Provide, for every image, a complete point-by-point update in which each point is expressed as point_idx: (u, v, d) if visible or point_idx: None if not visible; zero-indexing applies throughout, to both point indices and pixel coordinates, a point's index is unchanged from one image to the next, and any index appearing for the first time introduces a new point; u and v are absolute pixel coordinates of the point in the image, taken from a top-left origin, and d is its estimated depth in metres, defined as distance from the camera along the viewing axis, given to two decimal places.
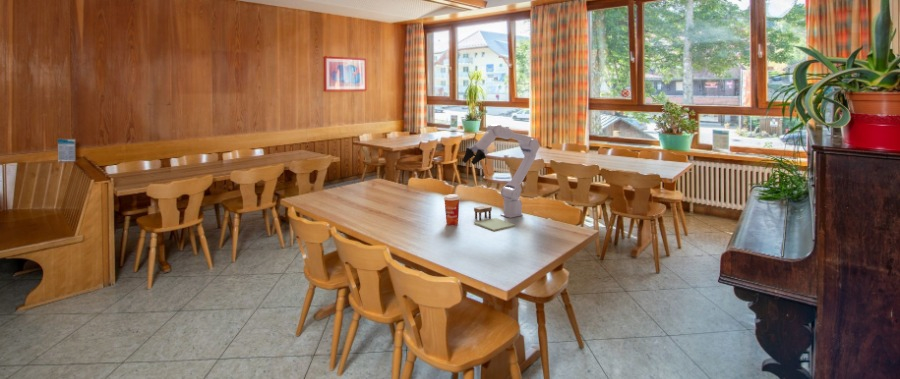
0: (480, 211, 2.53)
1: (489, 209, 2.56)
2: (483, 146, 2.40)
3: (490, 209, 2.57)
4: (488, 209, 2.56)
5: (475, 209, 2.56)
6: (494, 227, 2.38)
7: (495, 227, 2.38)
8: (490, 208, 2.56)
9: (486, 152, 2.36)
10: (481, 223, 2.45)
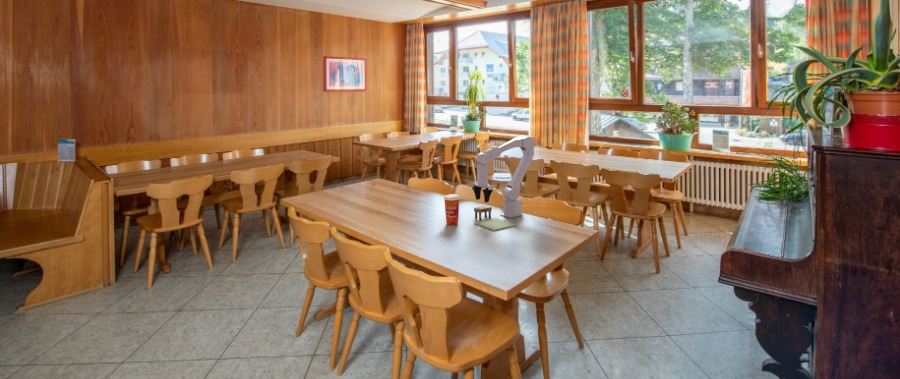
0: (480, 211, 2.53)
1: (489, 209, 2.56)
2: (484, 181, 2.51)
3: (490, 209, 2.57)
4: (488, 209, 2.56)
5: (475, 209, 2.56)
6: (494, 227, 2.38)
7: (495, 227, 2.38)
8: (490, 208, 2.56)
9: (490, 188, 2.48)
10: (481, 223, 2.45)
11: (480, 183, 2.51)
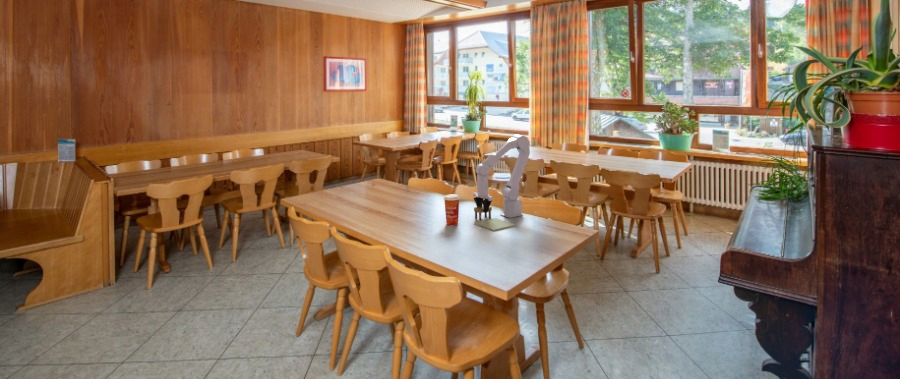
0: (480, 211, 2.53)
1: (489, 209, 2.56)
2: (484, 192, 2.52)
3: (490, 209, 2.56)
4: None
5: (475, 209, 2.56)
6: (494, 227, 2.38)
7: (495, 227, 2.38)
8: (490, 208, 2.56)
9: (491, 199, 2.50)
10: (481, 223, 2.45)
11: (480, 194, 2.52)
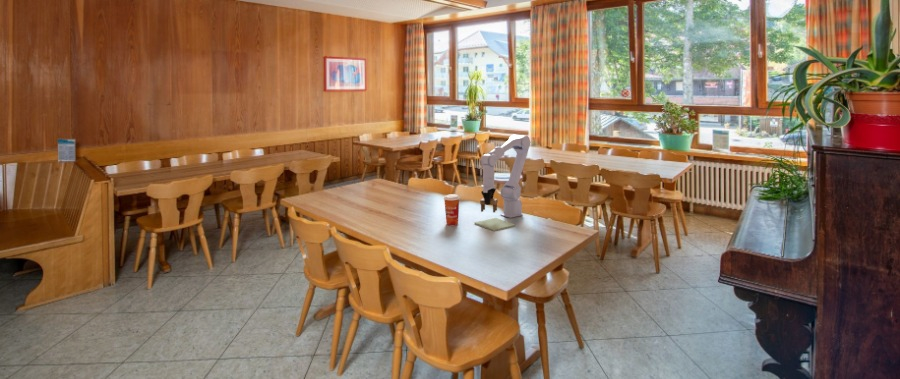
0: (481, 202, 2.47)
1: (492, 203, 2.45)
2: (486, 183, 2.44)
3: (493, 203, 2.45)
4: (490, 202, 2.46)
5: None
6: (494, 227, 2.38)
7: (495, 227, 2.38)
8: (493, 202, 2.45)
9: (485, 191, 2.40)
10: (481, 223, 2.45)
11: (483, 184, 2.46)
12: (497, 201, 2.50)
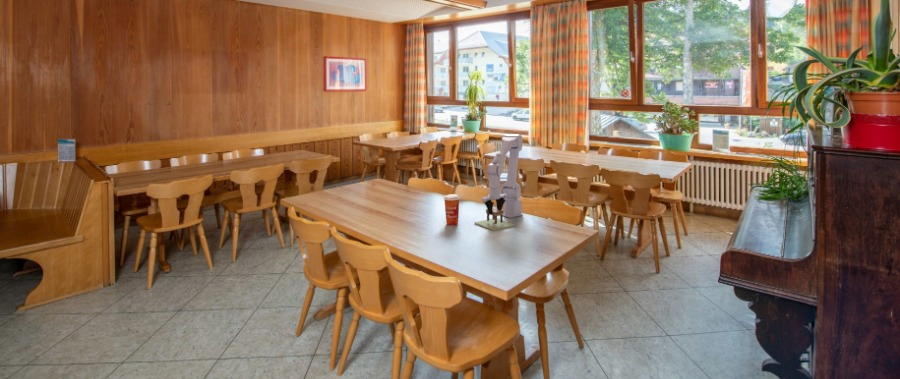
0: (486, 211, 2.45)
1: (493, 213, 2.40)
2: (489, 193, 2.40)
3: (494, 214, 2.39)
4: (492, 213, 2.41)
5: None
6: (494, 227, 2.38)
7: (495, 227, 2.38)
8: (494, 213, 2.39)
9: (483, 200, 2.38)
10: (481, 223, 2.45)
11: None
12: (503, 213, 2.41)
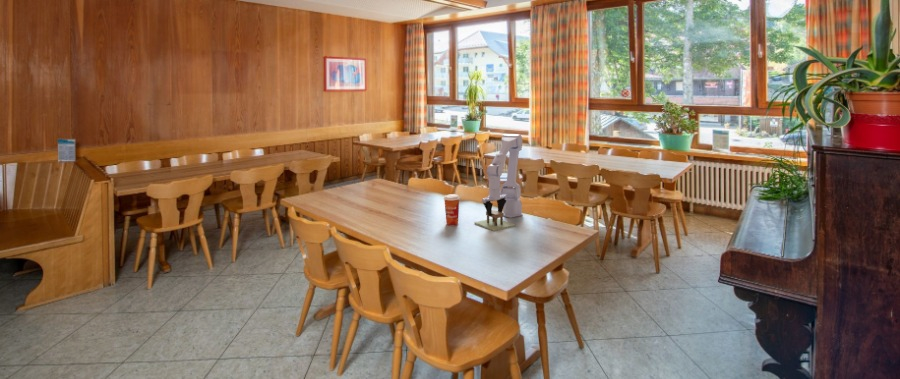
0: (486, 213, 2.45)
1: (493, 216, 2.40)
2: (489, 194, 2.40)
3: (494, 216, 2.40)
4: (492, 215, 2.41)
5: None
6: (494, 227, 2.38)
7: (495, 227, 2.38)
8: (494, 215, 2.40)
9: (483, 201, 2.38)
10: (481, 223, 2.45)
11: None
12: (503, 215, 2.42)
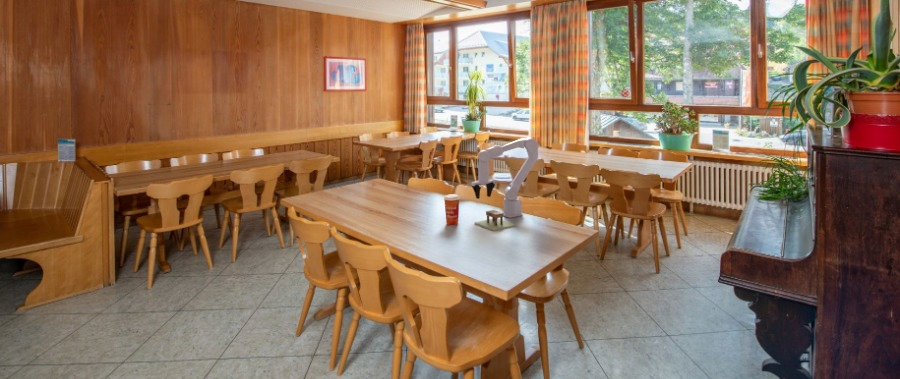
0: (486, 213, 2.45)
1: (493, 216, 2.40)
2: (478, 178, 2.57)
3: (494, 216, 2.40)
4: (492, 215, 2.41)
5: None
6: (494, 227, 2.38)
7: (495, 227, 2.38)
8: (494, 215, 2.40)
9: (472, 184, 2.54)
10: (481, 223, 2.45)
11: None
12: (503, 215, 2.42)
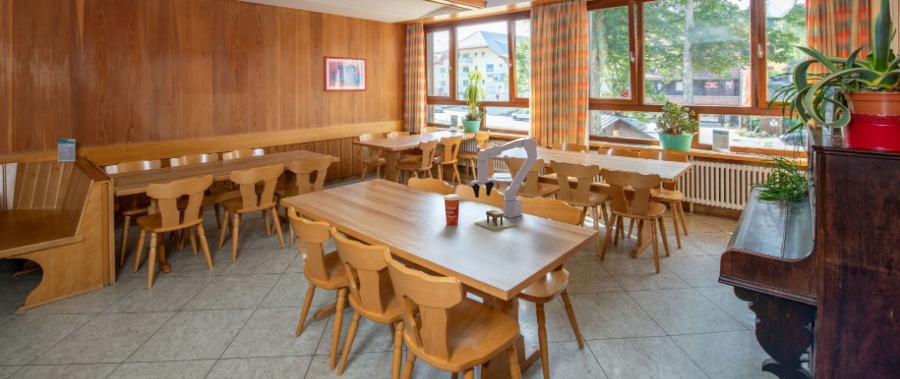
0: (486, 213, 2.45)
1: (493, 216, 2.40)
2: (477, 177, 2.59)
3: (494, 216, 2.40)
4: (492, 215, 2.41)
5: None
6: (494, 227, 2.38)
7: (495, 227, 2.38)
8: (494, 215, 2.40)
9: (471, 183, 2.56)
10: (481, 223, 2.45)
11: None
12: (503, 215, 2.42)
